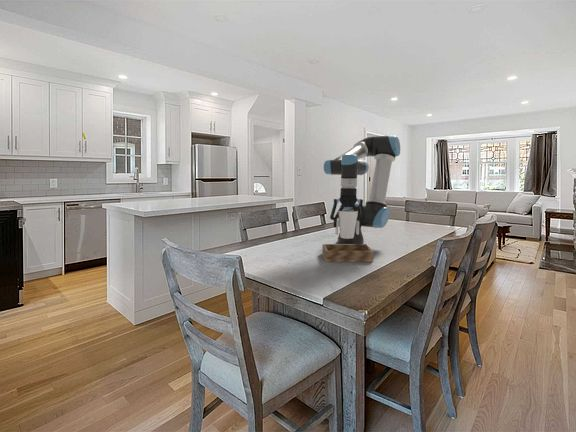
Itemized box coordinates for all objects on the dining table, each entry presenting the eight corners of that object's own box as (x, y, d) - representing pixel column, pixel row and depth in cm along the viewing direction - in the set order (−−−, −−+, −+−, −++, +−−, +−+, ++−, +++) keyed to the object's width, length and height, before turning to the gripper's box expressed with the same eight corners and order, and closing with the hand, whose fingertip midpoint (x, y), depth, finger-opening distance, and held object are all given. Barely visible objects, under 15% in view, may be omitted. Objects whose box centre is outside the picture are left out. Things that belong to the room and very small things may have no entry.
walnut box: (325, 261, 156) (326, 251, 155) (322, 253, 171) (322, 244, 170) (372, 261, 156) (373, 251, 155) (365, 253, 171) (365, 244, 170)
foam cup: (355, 239, 156) (356, 212, 154) (335, 238, 159) (336, 211, 157) (358, 236, 165) (359, 210, 163) (339, 234, 168) (340, 209, 166)
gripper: (326, 187, 155) (325, 235, 158) (373, 188, 155) (371, 235, 158) (324, 187, 162) (323, 232, 165) (369, 187, 162) (367, 232, 165)
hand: (347, 234), depth 162 cm, fingers closed on foam cup, 9 cm apart
